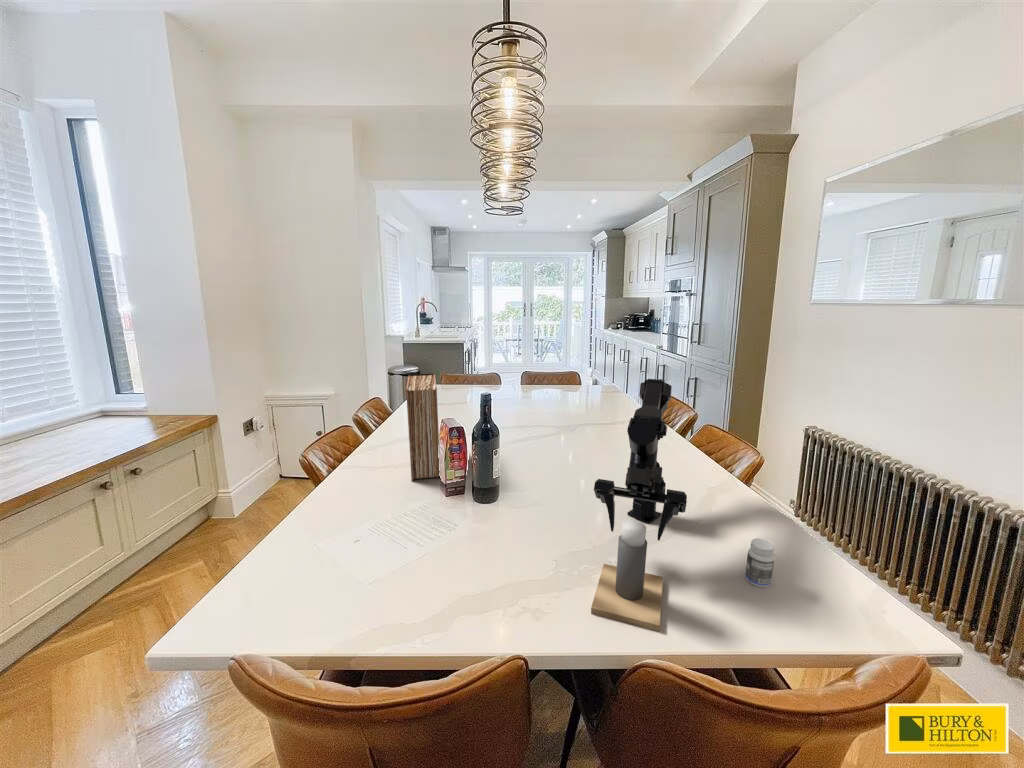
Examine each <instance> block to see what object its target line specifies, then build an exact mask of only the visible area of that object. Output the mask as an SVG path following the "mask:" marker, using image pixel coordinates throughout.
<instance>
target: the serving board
mask: <svg viewBox="0 0 1024 768" xmlns="http://www.w3.org/2000/svg"><path fill="white" fill-rule="evenodd" d="M616 572H617V565H616V566H615V565H612V564H606V563H604V564H603V565H602V568H601V572H600V576H599V579H598V583H597V586H596V589H595V593H594V595H593V596H594V597H593V600H592V603H591V604H592V605H591V606H590V607H591V608H590V614H592V615H596V616H600V617H602V618H607V619H611V620H614V621H618V622H623V623H626V624H629V625H633V626H638V627H640V628H645V629H649V630H651V631H655V632H660V626H661V611H662V609H661V608H662V599H663V598H662V597H663V585H664V584H663V583H664V582H663V581H664V580H663V579H664V576H660V575H657V574H652V573H647V572H645V576H644V588H643V596H642V598H640V599H639V600H635V601H631V600H626V599H624V598H622V597H620V596H619V595H618V594H617V593H616V590H615V587H616Z"/></svg>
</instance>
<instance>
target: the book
mask: <svg viewBox="0 0 1024 768" xmlns="http://www.w3.org/2000/svg"><path fill="white" fill-rule="evenodd" d="M437 389H438V387H437V380H436V374H435V373H419V374H415V373H414V374H408V378H407V382H406V388H405V390H406V408H407V423H408V424H407V427H408V440H409V443H408V445H409V457H410V458H409V459H410V477H411V482H414V480H418V479H428V478H430V479H431V478H439V458H438V445H439V446H440V434H439V432H440V431H439V412H438V411H439V409H438V390H437Z"/></svg>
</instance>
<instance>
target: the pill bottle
mask: <svg viewBox="0 0 1024 768" xmlns="http://www.w3.org/2000/svg"><path fill="white" fill-rule="evenodd" d="M774 551H775V545H774V544H773V543H771V541H768V540H766V539H763V538H753V539H752V540H751V542H750V547H749V548H748V551H747V558H746V566H745V573H744V574H745V575H744V576H745V580H746V581H748V583H750V584H751V585H753V586H756V587H759V588H768V587H770V586H771V585H772V580H773V574H774V568H775V560H776V559H775V555H774Z"/></svg>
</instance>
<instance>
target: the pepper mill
mask: <svg viewBox="0 0 1024 768" xmlns="http://www.w3.org/2000/svg"><path fill="white" fill-rule="evenodd" d="M646 534H647V526H646V524H644V523H643V522H642V521H640V520H639V521H638V520H635V519H634V520H633V519H627V520H624V521H623V522H622V523H621V533H620V535H619V537H618V544H617V546H618V547H617V559H616V560H617V562H616V567H617V572H616V587H615V590H616V593H617V594H618V595H619V596H620V597H622V598H624V599H626V600H631V601H635V600H639V599H640V598H642V596H643V588H644V576H645V573H646V564H647V563H646V561H647V549H648V541H647V539H646V538H647V537H646V536H647V535H646Z"/></svg>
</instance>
